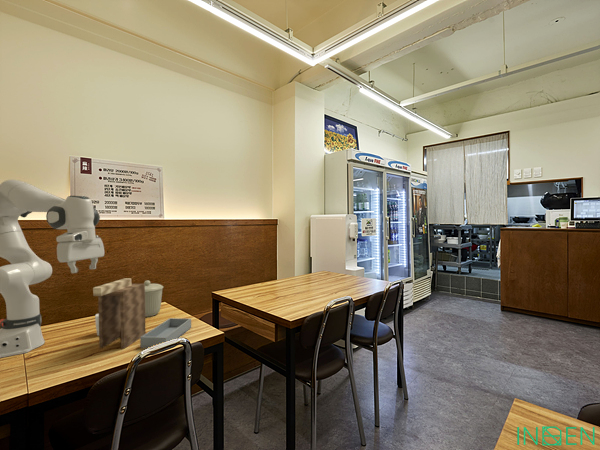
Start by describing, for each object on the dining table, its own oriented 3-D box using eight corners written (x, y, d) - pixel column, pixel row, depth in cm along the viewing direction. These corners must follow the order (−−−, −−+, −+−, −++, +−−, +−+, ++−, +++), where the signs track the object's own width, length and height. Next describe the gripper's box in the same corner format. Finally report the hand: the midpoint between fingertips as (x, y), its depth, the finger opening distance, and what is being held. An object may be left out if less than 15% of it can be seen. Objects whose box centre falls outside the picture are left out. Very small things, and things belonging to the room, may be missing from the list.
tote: (165, 348, 134) (165, 337, 134) (140, 347, 135) (140, 337, 135) (191, 327, 160) (191, 318, 159) (169, 327, 161) (169, 318, 160)
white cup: (104, 336, 148) (104, 317, 148) (91, 335, 150) (91, 316, 149) (117, 331, 156) (117, 312, 156) (104, 330, 157) (104, 311, 157)
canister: (127, 321, 171) (127, 284, 171) (134, 311, 188) (133, 278, 188) (162, 317, 177) (161, 282, 176) (165, 308, 194) (165, 276, 193)
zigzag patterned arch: (124, 348, 134) (123, 291, 134) (99, 347, 135) (98, 291, 135) (145, 334, 150) (144, 283, 150) (123, 334, 151) (122, 283, 151)
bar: (101, 296, 126) (100, 287, 126) (93, 295, 127) (93, 287, 126) (131, 285, 146) (131, 278, 146) (124, 285, 146) (124, 278, 146)
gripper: (93, 235, 128) (95, 267, 128) (52, 237, 108) (54, 275, 108) (107, 234, 128) (109, 266, 128) (69, 236, 107) (71, 274, 107)
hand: (84, 271), depth 117 cm, fingers open, 8 cm apart
